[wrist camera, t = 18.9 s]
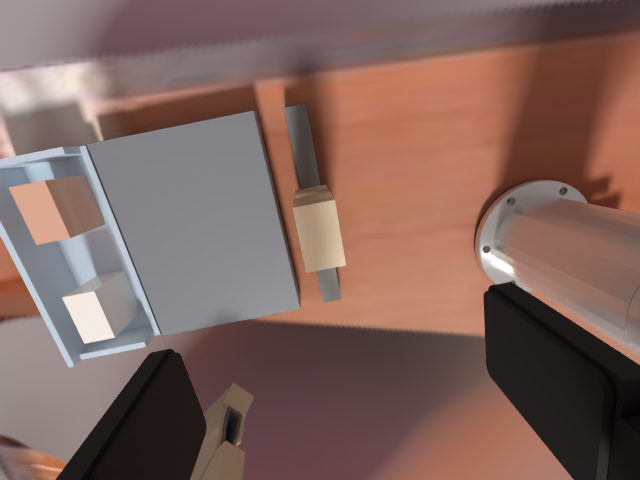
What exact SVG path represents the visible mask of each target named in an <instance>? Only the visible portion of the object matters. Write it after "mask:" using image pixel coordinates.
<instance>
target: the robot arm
mask: <svg viewBox="0 0 640 480" xmlns="http://www.w3.org/2000/svg"><path fill="white" fill-rule="evenodd" d="M475 252H476V257H477V261H478V263H479V266H480V268H481V269H482V271H483V272H484V273H485V275H486V276H487V277H488V278H490V279H491V280H492V281H493V282H495V283H496V285H491V286H490V287H489V289H488V291H486V292H485V293H484V318H485V342H486V366H487V370H488V373H489V374H490V377H491V378H492V379H493V380H494V382H495V383H496V384H497V385H498V387H499V388H500V389H501V390H502V392H503V393H504V394H505V395H506V397H507V398H508V399H509V400H510V402H511V403H512V404H513V405H514V406H515V408H516V409H517V410H518V411H519V413H520V414H521V415H522V416H523V418H524V419H525V420H526V421H527V422H528V424H529V425H530V426H531V427H532V429H533V430H534V431H535V432H536V433H537V435H538V436H539V437H540V438H541V440H542V441H543V442H544V443H545V445H546V446H547V447H548V448H549V450H550V451H551V452H552V453H553V454H554V456H555V457H556V458H557V459H558V461H559V462H560V463H561V464H562V466H563V467H564V468H565V469H566V470H567V472H568V473H569V474H570V475H571V477H572V478H573V479H574V480H640V365H639V364H637V363H636V362H634V361H633V360H631V359H629V358H628V357H626V356H625V355H623V354H622V353H620V352H619V351H617V350H616V349H614V348H613V347H611V346H609V345H608V344H606V343H605V342H603V341H602V340H600V339H599V338H597V337H596V336H594V335H593V334H591V333H589V332H588V331H586V330H585V329H583V328H582V327H580V326H579V325H577V324H576V323H574V322H573V321H571V320H570V319H568V318H566V317H565V316H563V315H562V314H560V313H559V312H557V311H556V310H554V309H553V308H551V307H550V306H548V305H546V304H545V303H543V302H542V301H540V300H539V299H537V298H536V297H534V296H533V295H531V294H530V293H528V292H531V291H535V292H537V293H538V294H540V295H541V296H543V297H545V298H546V299H548V300H549V301H551V302H553V303H554V304H556V305H557V306H559V307H561V308H562V309H564V310H565V311H567V312H569V313H570V314H572V315H573V316H575V317H577V318H578V319H580V320H581V321H583V322H585V323H586V324H588V325H589V326H591V327H593V328H594V329H596V330H597V331H599V332H601V333H602V334H604V335H605V336H607V337H608V338H610V339H612V340H613V341H615V342H616V343H618V344H620V345H621V346H623V347H624V348H626V349H628V350H629V351H631V352H632V353H634V354H636V355H637V356H639V357H640V214H639V213H634V212H629V211H624V210H619V209H614V208H609V207H604V206H599V205H594V204H589V203H588V202H587V200H586V199H585V197H584V196H583V195H582V194H581V193H580V192H579V191H578V190H577V189H575V188H574V187H572V186H570V185H568V184H565V183H562V182H559V181H552V180H534V181H529V182H525V183H522V184H520V185H517V186H515V187H513V188H511V189H510V190H508V191H506V192H505V193H504V194H502V195H501V196H500V197H499V198H498V199H496V200H495V201H494V203H493V204H492V205H491V206H490V207H489V208H488V210H487V211H486V213H485V214H484V216H483V218H482V219H481V222H480V224H479V227H478V229H477V234H476V239H475ZM206 429H207V425H206V420H205V417H204V414H203V412H202V409H201V407H200V404H199V401H198V399H197V396H196V394H195V391H194V388H193V386H192V383H191V381H190V378H189V376H188V373H187V370H186V368H185V365H184V363H183V360H182V357H181V355H180V354H179V353H175V352H174V351H173V350H172V349H167V350H162V351H157V352H152V353H150V354H149V355H148V356H147V358H146V359H145V360H144V362H143V363H142V364H141V366H140V367H139V368H138V370H137V371H136V372H135V374H134V375H133V376H132V378H131V379H130V380H129V382H128V383H127V384H126V386H125V387H124V389H123V390H122V391H121V393H120V394H119V395H118V396H117V398H116V399H115V400H114V402H113V403H112V405H111V406H110V407H109V409H108V410H107V411H106V413H105V414H104V415H103V417H102V418H101V419H100V421H99V422H98V423H97V425H96V426H95V428H94V429H93V430H92V431H91V433H90V434H89V435H88V437H87V438H86V440H85V441H84V442H83V444H82V445H81V446H80V448H79V449H78V450H77V452H76V453H75V454H74V456H73V457H72V458H71V460H70V461H69V462H68V464H67V465H66V466H65V468H64V469H63V470H62V472H61V473H60V474H59V476H58V477H57V479H56V480H190V479H191V476H192V473H193V470H194V467H195V464H196V461H197V458H198V455H199V452H200V449H201V446H202V443H203V440H204V438H205V434H206Z"/></svg>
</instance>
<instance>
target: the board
mask: <svg viewBox="0 0 640 480" xmlns="http://www.w3.org/2000/svg"><path fill="white" fill-rule="evenodd" d="M87 146H88V148H89V151H90V153H91V156H92V158H93V161H94V163H95V166H96V168H97V171H98V174H99V176H100V179H101V181H102V184H103V186H104V189H105V191H106V194H107V196H108V199H109V201H110V204H111V206H112V209H113V211H114V214H115V216H116V219H117V221H118V224H119V226H120V229H121V232H122V234H123V237H124V239H125V242H126V244H127V247H128V249H129V252H130V254H131V257H132V259H133V262H134V264H135V267H136V269H137V272H138V274H139V277H140V279H141V282H142V284H143V287H144V290H145V292H146V295H147V297H148V300H149V302H150V305H151V307H152V310H153V312H154V315H155V317H156V320H157V322H158V325H159V327H160V330H161V332H162V335H163V336H166V335H171V334H177V333H182V332H187V331H192V330H196V329H202V328H207V327H212V326H217V325H222V324H227V323H232V322H237V321H242V320H248V319H253V318H258V317H263V316H268V315H273V314H278V313H283V312H288V311H293V310H298V309H300V303H301V298H300V293H299V289H298V285H297V281H296V276H295V272H294V268H293V264H292V259H291V255H290V251H289V246H288V242H287V238H286V234H285V229H284V225H283V221H282V217H281V212H280V208H279V204H278V200H277V195H276V191H275V187H274V182H273V178H272V174H271V170H270V165H269V161H268V157H267V153H266V148H265V144H264V140H263V136H262V131H261V127H260V123H259V118H258V114H257V113H256V112H255V111H249V112H244V113H239V114H234V115H229V116H224V117H219V118H214V119H209V120H204V121H199V122H194V123H189V124H184V125H180V126H175V127H170V128H165V129H160V130H155V131H150V132H145V133H140V134H135V135H130V136H125V137H120V138H115V139H110V140H105V141H100V142H96V143H91V144H87Z"/></svg>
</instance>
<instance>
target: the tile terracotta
mask: <svg viewBox="0 0 640 480" xmlns="http://www.w3.org/2000/svg"><path fill="white" fill-rule="evenodd" d="M9 190H10V192H11V194H12V196H13V198H14V200H15V202H16V204H17V206H18V208H19V210H20V212H21V214H22V216H23V218H24V220H25V223H26V225H27V227H28V229H29V231H30V233H31V235H32V237H33V239H34V241H35V243H36V245H38V244H43V243H49V242H54V241H59V240H64V239H69V238H72V237H75V236H77V235H80V234H82V233H85V232H87V231H90V230H92V229H95V228H97V227H100V226H102V225H105V221H104V219H103V216H102V214H101V212H100V209H99V207H98V204H97V202H96V199H95V197H94V194H93V192H92V189H91V187H90V185H89V182H88V180H87V177H86V175H82V176H74V177H66V178H59V179H51V180H44V181H39V182H34V183H29V184H24V185H19V186H14V187H9Z"/></svg>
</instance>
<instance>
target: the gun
mask: <svg viewBox="0 0 640 480" xmlns="http://www.w3.org/2000/svg"><path fill="white" fill-rule="evenodd" d="M253 398H254V396H253V395H251V394H250V393H248V392H247V391H245V390H244V389H243V388H241V387H240V386H238V385H237V384H235V383H234V382H233V383H232V384H231V385H230V386H229V387H228V388H227V389H226V390H225V391H224V392H223V393H222V394H221V395H220V396H219V397H218V398H217V399H216V400H215V401H214V402H213V403H212V405H211V406H210V407H209V408H208V409H207V410H206V411H205V412H204V413H203V414H204V417H205V420H206V425H207V429H206V434H205V438H204V440H203V443H202V446H201V449H200V452H199V455H198V458H197V461H196V464H195V467H194V470H193V473H192V476H191V479H190V480H242V473H243V466H244V459H245V452H243V451H242V450H240V449H239V448H237V445H238V444H239V443H240V442H241V440H242V434H243V428H244V421H245V418H244V417H245V415H246V413H247V411H248V409H249V407H250V404H251V402H252V400H253Z"/></svg>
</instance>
